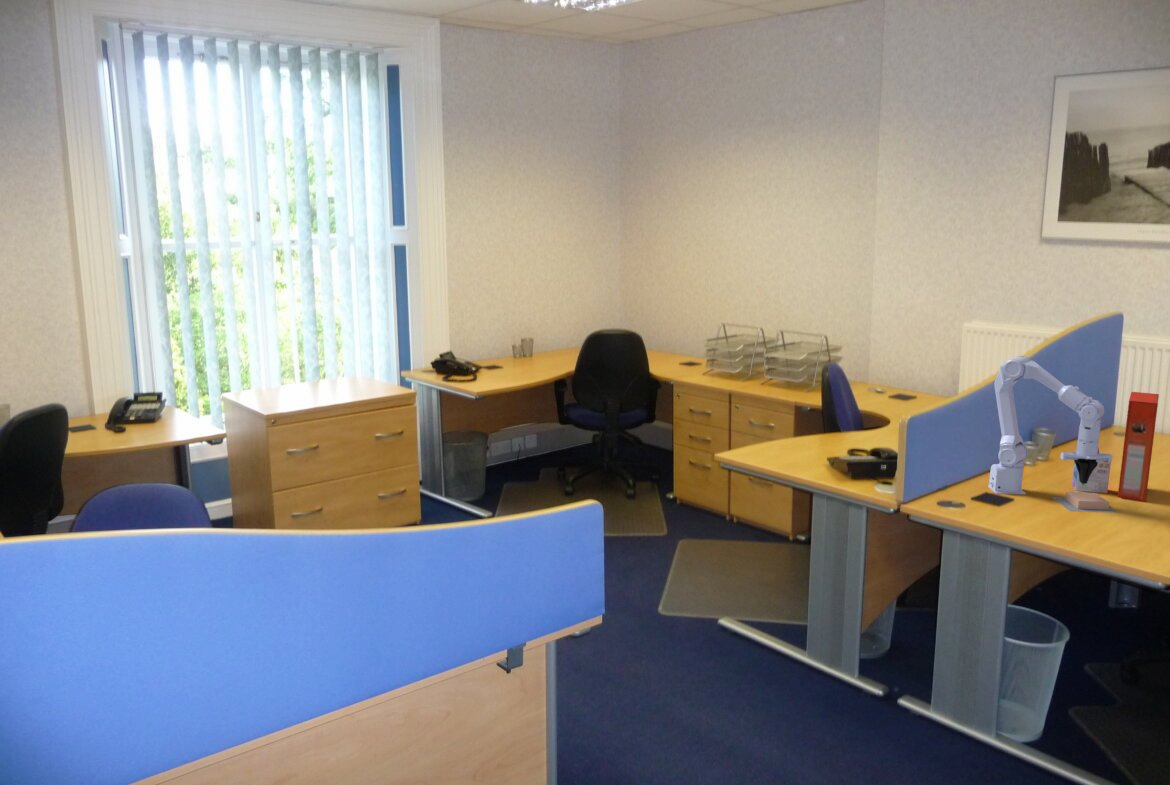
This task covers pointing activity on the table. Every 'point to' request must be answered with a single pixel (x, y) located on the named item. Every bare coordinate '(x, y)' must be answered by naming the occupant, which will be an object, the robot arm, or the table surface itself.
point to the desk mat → (1073, 508)
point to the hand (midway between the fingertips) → (1083, 482)
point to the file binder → (1138, 446)
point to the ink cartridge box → (1093, 478)
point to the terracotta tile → (1087, 500)
